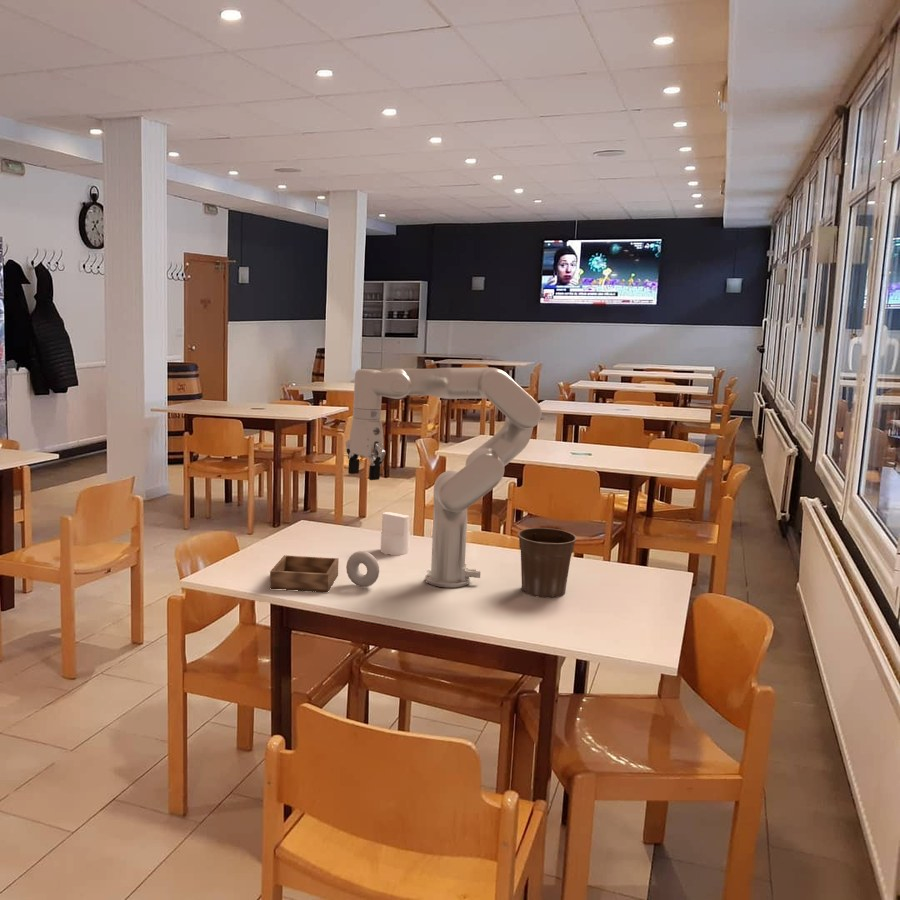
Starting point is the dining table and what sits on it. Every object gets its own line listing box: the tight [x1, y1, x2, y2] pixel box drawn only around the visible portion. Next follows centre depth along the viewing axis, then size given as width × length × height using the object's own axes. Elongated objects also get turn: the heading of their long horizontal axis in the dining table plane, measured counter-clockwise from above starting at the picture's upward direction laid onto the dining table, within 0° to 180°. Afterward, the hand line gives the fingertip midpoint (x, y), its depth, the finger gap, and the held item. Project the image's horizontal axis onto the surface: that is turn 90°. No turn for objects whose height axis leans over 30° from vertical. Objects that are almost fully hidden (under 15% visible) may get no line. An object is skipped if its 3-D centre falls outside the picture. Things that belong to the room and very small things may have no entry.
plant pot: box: [517, 527, 578, 598], centre depth 230 cm, size 16×16×16 cm
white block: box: [380, 511, 411, 556], centre depth 263 cm, size 9×9×12 cm
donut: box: [346, 550, 380, 588], centre depth 227 cm, size 10×4×10 cm, turn 64°
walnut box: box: [269, 555, 339, 593], centre depth 229 cm, size 16×16×5 cm
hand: (363, 476), depth 228 cm, fingers open, 9 cm apart
